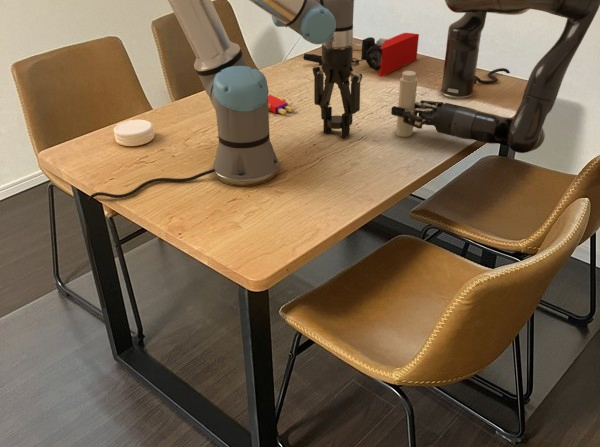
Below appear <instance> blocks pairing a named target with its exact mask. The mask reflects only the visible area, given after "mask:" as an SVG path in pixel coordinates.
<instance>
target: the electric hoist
mask: <svg viewBox="0 0 600 447" xmlns="http://www.w3.org/2000/svg"><path fill="white" fill-rule="evenodd" d="M419 38H420V34H419V33H414V32H403V33H400V34H397V35H395V36H393V37H391V38H382V37H381V38H380V37H379V38H378V40H375V39H376V38H374V37H373V36H370V37H365V38H364V39H362V40H361V41H362V43H360V42H355V41H353V44H352V45H351V46H352V47H354V46H358V47H361V49H353V52H354V51H356V52H361V58H360V59H357V58H354V57H353V59H352V64H351V65H352V66H354V67H358V66H360V62H363V61H365V62H366V64H367V65H368V67H369V68H370V69H372V70H375V71H377V72H378V71H379V73H378V74H377V76H378V77H382V76H385V75H387V74H389V73H391V72H394V71H395V70H397V69H399V68H400V69H401V68H402V67H404V66H406V65H408V64H410V63H413V62H414V61H417V59H418V58H417V57H418V49H419V48H418V47H419ZM323 46H324V45H323V44H321V48H322V47H323ZM302 58H303V60H304V61H308V62H312V63H316V64H317V63H318V65H321V66H322V64H323V61H322V55H319V54H314V53H304V54H303V57H302Z"/></svg>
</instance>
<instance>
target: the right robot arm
mask: <svg viewBox="0 0 600 447" xmlns="http://www.w3.org/2000/svg"><path fill="white" fill-rule="evenodd" d="M444 2H445V5H446V7H447V8H448V9H449V11H451V12H453V13H455V14H463V13H464V14H463V16H461V17H460V18H459V19H458V20H456V21H454V22H452V23H451V24H449V26H448V29H447V36H446V37H447V39H446V45H445V47H446V48H445V54H444V55H445V56H444V65H443V74H442V82H441V89H440V95H442V96H444V97H446V98H449V99H455V100H464V99H465V100H466V99H469V98H471V97H473V95H474V87H475V85H477V83H479V84H484V85H490V84H491V85H492V84H496V83H497V82H498V80H499V79H498V77H496V76H495V75H494V74H496V73H499V72H505V73H506V74H510V73H511V71H510V70H509V69H508V68H505V67H500V68H495V69H493V70H491V71H489V72H488V73H487V77H488V78H489V79H490V80H485V79H484V80H483V79H481V78H480V77H478V76H477V75H476V72H477V67H478V66H477V65H478V59H479V58H478V57H479V52H480V45H481V44H480V43H481V37H482V32H483V31H484V28H485V24H486V21H487V20H486V19H487V15H488V13H489V14H490V13H491V14H498V15H510V16H516V15H517V16H519V15H523V14H525V13H527V12H529V11H530V10H535V11H540V12H544V13H548V14H550V15H553V16H558V17H561V18H565V19H566V22H565V25H564V27H563V30H562V32H561V34H560V36H559V37H558V39H557V40H556V41H555V42H554V44H553V45H552V46H551V47H550V49H549V50H548V51H547V52H546V53H544V55H543V56H542V57H541V58H540V59H539V60H538V61H537V63H536V64H535V66H534V67H533V69H532V70H531V72H530V74H529V76H528V79H527V83H526V86H525V89H524V92H523V94H522V98H521V102H520V104H519V106H518V108H517V110H516V112H515V114H514V116H513V117H505V116H501V115H497V114H495V113H491V112H486V111H482V110H481V111H480V110H477V109H476V108H472V107H468V106H465V105H464V106H463V105H457V104H454V103H450V102H443V101H434V100H424V99H421V100H419V101H415V109H414V110H411V109H405V108H401V107H398V106H396V105H394V106H392V107H391V112H390V114H391V115H392V116H395V117H397V116H399V117H403V122H404V123H406V124H409V125H411V126H413V128H416V129H417V130H420V129H422V128H423V126H433V127H434V128H435V130H436V132H437V133H438V134H443V135H446V136H451V137H455V138H459V139H464V140H471V141H476V142H480V143H485V144H492V145H493V144H494V145H495V144H497V145H502V146H507V147H509V149H511V150H512V151H513V152H515V153H519V154H526V153H530V152H533V151H535V150H537V149H539V147H541V146H542V144H543V143H544V141H545V130H544V128H543V126H544V123H545V121H546V118H547V116H548V115H549V114H550V113H551V111H552V110H553V107H554V105H555V103H556V100H557V97H558V95H559V92H560V89H561V86H562V83H563V80H564V78H565V75H566V73H567V71H568V68H569V67H570V65H571V62H572V60H573V58H574V57H575V55H576V52H578V50H579V47H580V45H581V44H582V42H583V40H584V38H585V36H586V34H587V32H588V30H589V29H590V26H591V25H592V23H593V21H594V20H595V17H596V15H597V13H598V11H599V8H600V0H444ZM411 113H413V114H411Z"/></svg>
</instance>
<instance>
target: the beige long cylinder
mask: <svg viewBox="0 0 600 447" xmlns="http://www.w3.org/2000/svg"><path fill="white" fill-rule="evenodd" d="M401 75H402V76H401V77H400V78H399V90H398V103H397V107H401V108H405V109H411V110H414V109H415V102H416V100H417V99H416V98H417V88H418V78H417V72H415V71H414V70H404V71H403V72H402V74H401ZM411 114H413V113H411ZM396 117H397V118H396V131H395V133H396V135H397V136H399V137H402V138H403V137H404V138H406V137H411V136H412V135H413V133H414V132H413V131H414V127H413V126H411V125H409V124H406V123H404V122H403V117H399V116H396Z"/></svg>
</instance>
